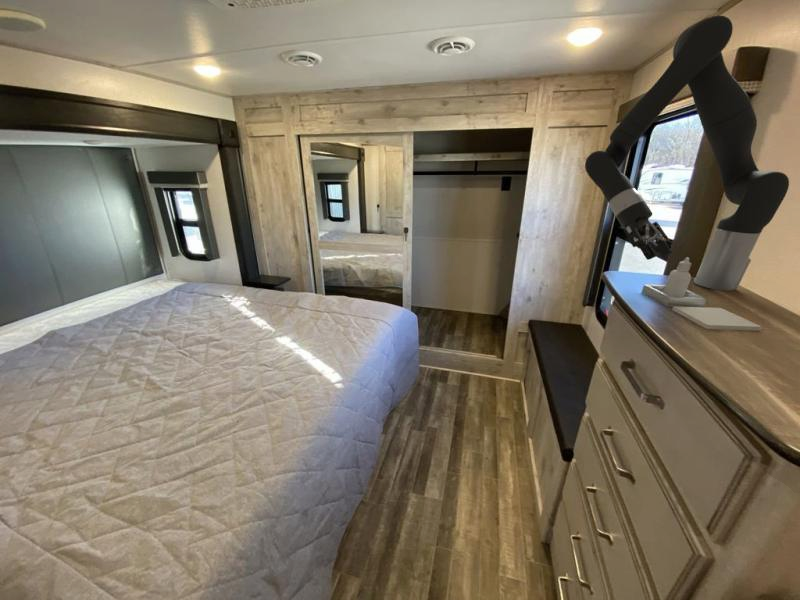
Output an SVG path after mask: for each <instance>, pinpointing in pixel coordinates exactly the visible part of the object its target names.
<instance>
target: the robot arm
mask: <svg viewBox="0 0 800 600" xmlns="http://www.w3.org/2000/svg"><path fill="white" fill-rule="evenodd" d="M733 28H734V27H733V23H732V21H731V19H730V18H728V17H727V16H725V15H713V16H710V17H706V18H704V19H702V20H699V21H698V22H695V23H693V24H692V25H690V26H689V27H686V29H684V30H683V31H682V32H681V34H679V36H678V38H676V41H675V43H674V45H673V50H672V58H673V60H672V61H671V62H670V64H669V65H668V67H667V68H666V70H665V71H664V72H663V74H662V75H661V76H660V77H659V78H658V80H657V81H656V82H655V83H654V84H653V85H652V87H650V88H649V90H648V91H647V92H646V93H645V94H644V95H643V96H642V97H641V98H640V99H639V100H638V101H637V102H636V103H635V104H634V105H633V106H632V108H631V109H630V110H629V111H628V112H627V113H626V114H625V116H623V118H622V119H621V121H620V122H619V124H618V125H617V126H616V127H615V129H614V130H613V131H612V133H611V134H610V136H609V140H610V143H608V146H607V148H606V149H605V150H596V151H593V152H592V153H591V154H590V153H589V154H590V155H589V154H588V156H587V158H586V159H585V162H584V168H585V171H586V173H587V175H588V177H589V178H590V180H592V182H593V183H594V184H595V185H596V186H597V187H598V188H599V189H600V191H601V192H602V195H603V196H604V197H605V200H606V201H607V203H608V204H609V206H610V207H609V208H610V209H611V211H612V213H613V214H614V216H615V218H616V219H617V221H618V222H619V224H620V226H621V228H622V229H623V232H624V234H625V236H626V238H627V239H628V241H629V242H630V244H631V245H632V247H633V248H638V250H639V249H640V251H641V252H642V254H643V257H645V259H646V260H651V259H654V258H656V257H657V254H656V252H655V250H654V249H653V247H652V246H651V244H650V242H651V243H652V244H653V245H655V247H656V249H657V250H658V252H659V253H660V255H661V256H662V257H667V256H669V255H671V254H672V253H673V252H672V249H671V248H670V246H669V245H668V243H667V242H666V241H667V240H668V239H669V238H668V236H667V234H666V233H665V231H664V230H663V229H662V227H661V226H660V224H659V222H658V221H654V222H652V223H651V221H650V220H649V219H650V218H652V216H653V212H652V210H651V208H650V207H649V206H648V204H647V203H646V201H645V199H644V198H643V196H642V195H641V194H640V193H639V191H638V190H636V188H635V187H634V184H632V181H630V179H629V178H628V176H626V175H625V174H624V173H622V172H621V170H620V169H619V168H620V167H621V166H622V164H623V163H624V162H625V159H626V158H627V156H628V155H629V153H630V151H631V149H632V148H633V147H634V145H635V144H636V143H637V142H638V140H640V138H641V137H643V136H642V135H644V133H646V131H647V130H648V129H649V128H650V126H651V125H652V124H653V123H654V122H655V120H656V119H657V118H658V117H659V116H660V115H661V113H662V112H663V111H664V110H665V109H666V107H667V106H668V105H669V104H671V102H672V101H673V100H674V99H675V98H676V97H677V95H678V94H679V93H680V92H682V90H683V89H684V88H685V87H687V85H688V87H689V90H690V92H691V93H690V94H691V96H692V98H693V103H694V106H695V109H696V113H697V115H698V117H699V120H700V123H701V126H702V129H703V131H704V134H705V137H706V139H707V141H708V143H709V145H710V147H711V151H712V153H713V156H714V158H715V161H716V164H717V166H718V168H719V173H720V177H721V178H720V179H721V182H722V183H721V184H722V188H723V192H724V194H725V197H726V199H727V200H728V201H729V202H730V203H732V204H734V205H738V207H737V209H736V211H735V212H733V214H731V215H730V216H727V217H723V218H721V219H720V220H719V222H718V223H717V226H716V229H715V231H714V233H713V236H712V238H711V241H710V243H709V244H708V247H707V250H706V252H705V254H704V257H703V258H702V261H701V264H700V266H699V269H698V271H697V273H696V276H695V277H694V280H693V283H694V284H696V285H697V286H701V287H704V288H708V289H712V290H716V291H723V292H724V291H726V292H727V291H728V292H729V291H734V290H737V289H738V288H739V286H740V284H741V282H742V279H743V278H744V276H745V273H746V272H747V269H748V267H749V265H750V264H751V261H752V260H751V258H750V256H751V253H752V252H753V250H754V248H755V245H756V244H757V241H758V239H759V237H760V235H761V233H762V232H763V230H764V228H765V227H766V226H767V225H768V224H770V222H771V221H772V220H773V218H774V216H775V214H776V213H777V211H778V209H779V208H780V206H781V204H782V202H783V200H784V199H785V197H786V195H787V193H788V191H789V187H790V180H789V177H788V176H787V174H785V173H783V172H780V171H774V170H773V171H771V170H769V171H768V170H765V171H764V170H760V169H759V168H758V167H757V165H756V162H755V160H754V158H753V154H752V146H753V141H754V138H755V134H756V131H757V125H758V122H757V121H758V120H757V116H756V115H757V114H756V113H755V110H754V106H753V105H752V102H751V98H749V97H750V96H749V95H748V93H746V91H745V89H744V88H743V86H742V85H741V84H740V83H739V82H738V81H737V79H735V77H733V75H732V74H731V73H730V72H729V70H728V68H727V65H726V63H725V61H724V56H723V53H722V51H723V50H724V49H725V48H726V47H727V45H728V44H729V42H730V40H731V38H732V35H733V30H734V29H733Z"/></svg>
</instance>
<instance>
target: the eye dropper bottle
mask: <svg viewBox="0 0 800 600" xmlns="http://www.w3.org/2000/svg"><path fill="white" fill-rule="evenodd" d="M691 267H692V262H690V257H685V259H684V260H682V261H679V263H678V265H677V268H676V269H673V270H671V271H670V273H669V275H668V278H667V280H666V282H665V284H664V285H665V288H664V290H663V293H665V294H666V295H668V296H670V297H684V295H685V292H686V290H688V287H689V285H690V282H691V281H692V276H691V274H690V269H691Z"/></svg>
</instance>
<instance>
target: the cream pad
mask: <svg viewBox="0 0 800 600" xmlns="http://www.w3.org/2000/svg"><path fill="white" fill-rule="evenodd" d="M671 310H672V311H673V312H675V313H676V314H679V315H680V316H682V317H684V318H686V319H687V320H689V321H691V322H693V323H694V324H696V325H699V326H700V327H702V328H703V329H706V330H729V331H730V330H731V331H732V330H734V331H755V332H756V331H758V332H759V331H761V329H762V326H761V325H759V324H756V323H754V322H752V321H750V320H748V319H746V318H743V317H741V316H739V315H738V314H735V313H732V312H730V311H728V310H726V309H724V308H722V307H705V306H704V307H676V306H673V307H672V309H671Z"/></svg>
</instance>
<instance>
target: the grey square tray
mask: <svg viewBox="0 0 800 600" xmlns="http://www.w3.org/2000/svg"><path fill="white" fill-rule="evenodd" d="M665 285H666V284H664V285H663V284H643V287H642V289H641V292H642V293H641V294H643V293H644V294H643V295H645V296H647V297H649V298H651V299H653V300H654V301H655V302H658V303H660V304H661V305H663V306H665V307H672V308H673V306H676V307H705V305H706V302H707V301H708V298H706V297H704V296H701V295H700V294H698V293H695V292H693V291H690V290H689V289H687V290H686V292H685V295H684V297H670V296H668V295H666V294H665V293H663V290H664V288H665Z"/></svg>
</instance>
